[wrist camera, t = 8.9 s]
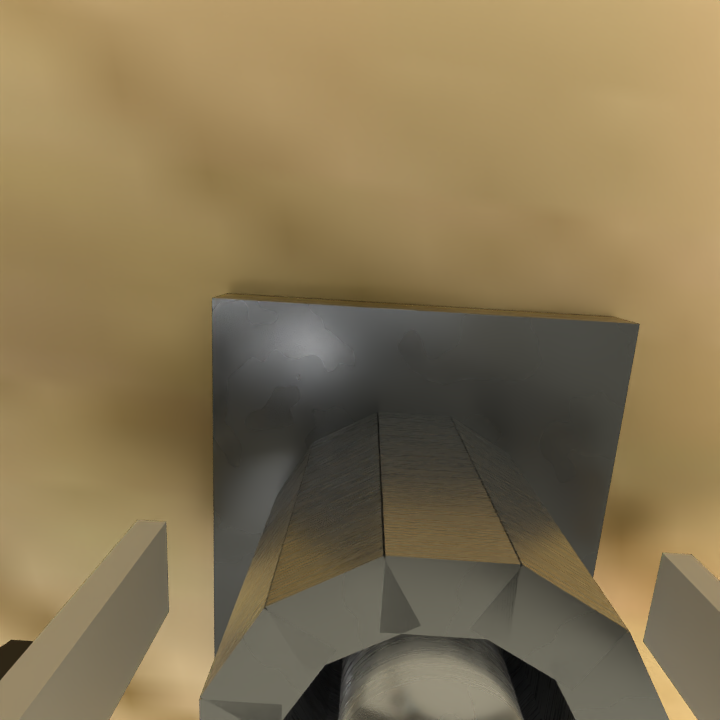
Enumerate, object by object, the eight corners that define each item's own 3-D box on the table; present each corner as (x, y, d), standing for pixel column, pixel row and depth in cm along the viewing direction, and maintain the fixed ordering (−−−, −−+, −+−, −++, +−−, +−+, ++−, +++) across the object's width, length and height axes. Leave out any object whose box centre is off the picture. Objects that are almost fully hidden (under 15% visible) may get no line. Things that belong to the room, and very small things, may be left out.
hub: (278, 405, 15) (196, 543, 8) (550, 422, 14) (710, 576, 8) (272, 636, 16) (202, 917, 9) (515, 653, 16) (620, 945, 9)
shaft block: (227, 293, 15) (60, 344, 7) (613, 316, 15) (903, 396, 7) (227, 670, 18) (110, 1014, 10) (549, 691, 18) (697, 1056, 10)
